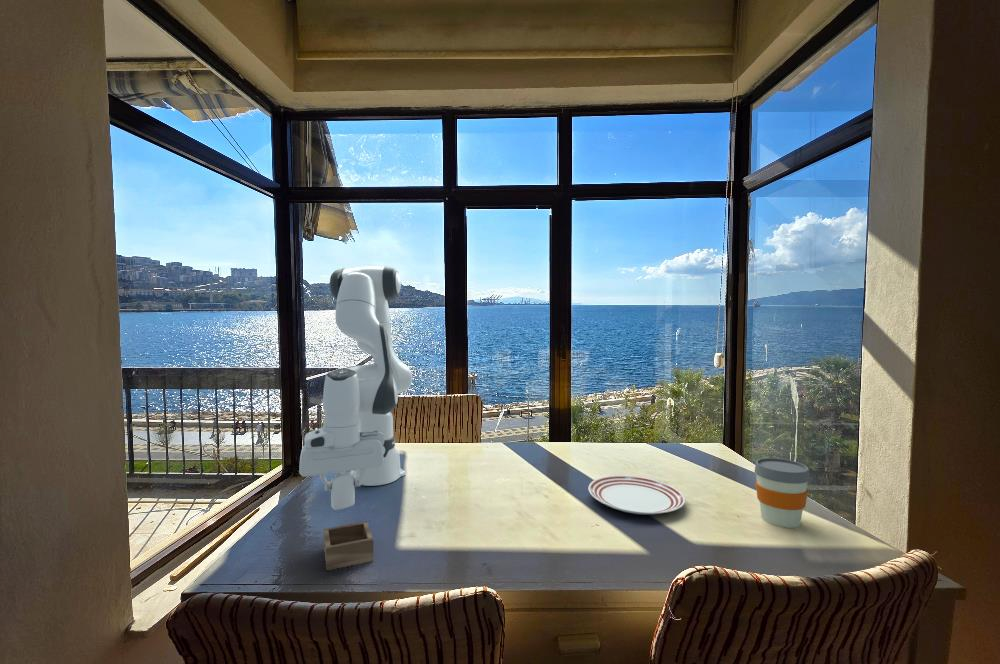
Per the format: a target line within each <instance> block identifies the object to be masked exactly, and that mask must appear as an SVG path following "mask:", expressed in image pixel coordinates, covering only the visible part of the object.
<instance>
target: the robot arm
mask: <svg viewBox="0 0 1000 664" xmlns="http://www.w3.org/2000/svg"><path fill="white" fill-rule="evenodd" d="M329 289H330V294H331V295H332V297H333V298H334V299H336V304H335V324H336V326H337V329H339V330H340V331H341V333H342V334H344V335H345V336H347V337H348V338H350V339H353V340H355V341H356V343H357V346H358V348H359V350H361V351H362V352H363V353H366V354H368V355H370V356H371V357H372V359H373V363H372V364H364V365H363V364H362V365H354V366H350V367H347V368H338V369H337V368H336V369H333V370H331V371H328V372H327V374H326V375H325V379H324V383H323V392H322V409H323V411H324V419H323V423H322V424H323V425H322V427H319V428H317V429H314V430H312V431H309V432H307V433H305V436H304V439H303V440H304V445H303V446H302V449H301V451H300V456H299V467H298V468H299V470H298V472H299V475H300V476H301V477H302V478H305V477H311V476H319V478H320V481H321V482H322V483H323V486H324V491H325V492H327V491H331V480H330V481H328V480H327V474H328V475H329V474H335V473H337V474H338V472H345V471H348V472H350V473H351V474H353V475H354V482H355V484H354V486H355V488H356V487H361V486H365V487H367V486H369V487H371V486H372V487H373V486H382V485H387V484H390V483H394V482H395V481H397V480H398V479H400V478H401V477H403V476H405V475H406V471H405V470H404V469H402V467H401V459H400V451H398V450H397V449H396V448H395V447H396V438H395V435H394V415H393V413H392V411H393V410H394V409H395V408H396V407H397V406H398V405H397V404H398V401H399V400H398V399H399V394H400V393H404V392H406V391H408V390H409V389H410V387H411V386H412V383H413V373H412V371H411V369H410V367H409V366H408V365H407V364H406V363H404V362H403V361H402V360H401V359H399V357H398V355H397V353H396V351H395V349H394V346H393V342H392V341H393V340H392V332H391V331H392V330H391V314H390V307H389V305H390V304H391V303H392V301H394V300H395V299H396V298H398V296H400V292H401V289H402V279H401V277H400V274H399V271H398V270H397V269H396V268H395V267H391V266H374V265H373V266H371V265H370V266H369V265H368V266H359V267H349V268H346V267H345V268H344V267H343V268H339V269H336V270H334V271H333V272H332V273H331V275H330V279H329Z"/></svg>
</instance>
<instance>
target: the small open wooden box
mask: <svg viewBox="0 0 1000 664" xmlns="http://www.w3.org/2000/svg"><path fill="white" fill-rule="evenodd" d="M323 551H324V552H325V553H324V559H325V560H324V561H326V562H325V567H326V568H325V570H329V571H333V569H334V570H338V569H337V568H339V569H342V567H343V568H348V567H352V566H351V565H353V566H357V565H361V564H362V565H363V564H366V563H367V564H368V563H370V562H374V561H375V560H374V558H375V557H374V537H373V534H372V531H371V529H370V526H369V523H368V521H367V520H366V521H361V522H355V523H349V524H344V525H339V526H338V525H337V526H333V527H328V528H323ZM347 566H348V567H347Z"/></svg>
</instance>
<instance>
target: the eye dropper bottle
mask: <svg viewBox="0 0 1000 664" xmlns="http://www.w3.org/2000/svg"><path fill="white" fill-rule="evenodd" d="M330 481H331V490H330V507H331V508H332V509H333V510H335V511H337V510H343V509H347V508H349V507H352V506H355V504H356V503H355V502H356V500H355V499H356V497H355V495H356V491H355V488H356V487H355V486H354V484H355V482H354V475H353V474H351V472H349V471H345V472H337V474H335V475H334V476H333V477H331V479H330Z"/></svg>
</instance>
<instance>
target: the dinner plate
mask: <svg viewBox="0 0 1000 664" xmlns="http://www.w3.org/2000/svg"><path fill="white" fill-rule="evenodd" d="M587 489H588V492H589V494H590V495H591V497H592V498H594V499H595V500H597V501H598V502H599V503H601V504H603V505H605V506H606V507H610V508H612V509H614V510H618V511H620V512H622V513H627V514H631V515H632V514H633V515H646V516H647V515H660V514H665V513H671V512H675V511H677V510H680V509H681V508H682V507H684V506H685V504H686V498H685V495H684V494H683V493H682V492H681V491H680V490H678V489H677V488H676V487H674V486H672V485H670V484H667V483H665V482H663V481H660V480H657V479H653V478H648V477H644V476H636V475H627V474H626V475H622V474H620V475H605V476H602V477H598V478H596V479H594V480H592V481H591V482H590V483H589V485H588V487H587Z"/></svg>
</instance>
